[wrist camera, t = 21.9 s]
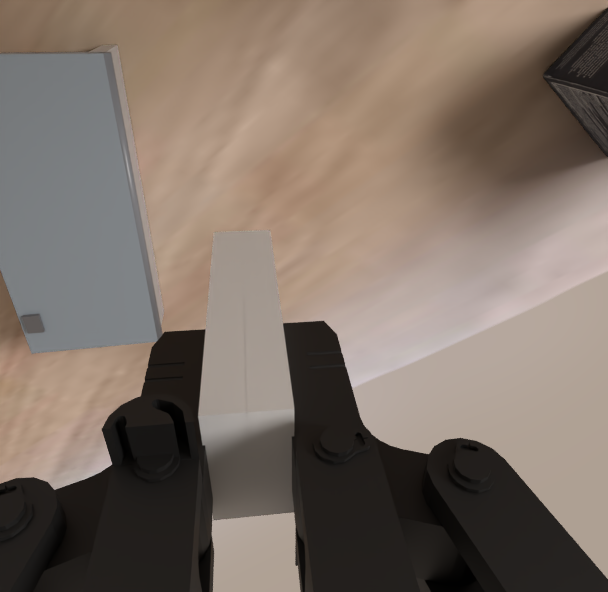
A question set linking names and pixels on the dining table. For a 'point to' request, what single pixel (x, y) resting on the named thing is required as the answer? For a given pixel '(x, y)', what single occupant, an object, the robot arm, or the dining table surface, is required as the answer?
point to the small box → (585, 80)
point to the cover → (71, 205)
